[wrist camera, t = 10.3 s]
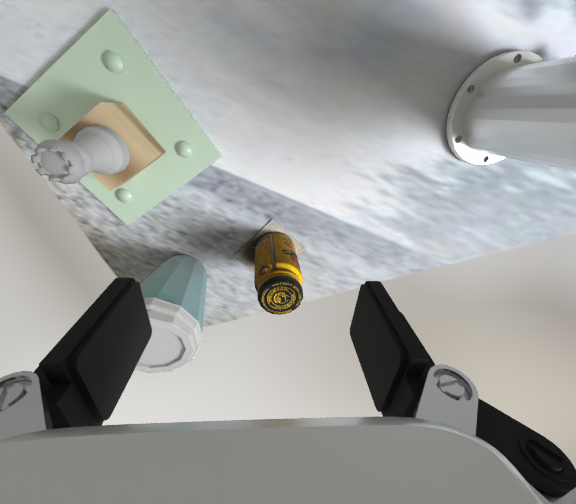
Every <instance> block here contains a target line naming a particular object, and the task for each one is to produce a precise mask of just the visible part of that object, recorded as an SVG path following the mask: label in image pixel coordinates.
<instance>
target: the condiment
mask: <svg viewBox="0 0 576 504" xmlns="http://www.w3.org/2000/svg"><path fill="white" fill-rule="evenodd" d="M253 247H254V248H253ZM304 250H306V249H305V248H304V247H303V246H302V245H301V244H300V243H298V242H297V241H296V240H295V239H294V238H293V237H292V236H291V235H290V234H289V233H288V232H286V231H285V230H284V229H283V228H282V227H281V226H280V225H279V224H278V223H276V222H275V221H274V220H273V219H272V220H271V221H270V222H269V223H268V224H267V225H266V226H265V227H264V228H263V229H262V230H260V231H259V232H258V233H257V234H256V235H255V236H254V237H253V238H252V239H251V240H250V241H249V242H248V243H247V244H246V245H245V246H244V247H243V248H242V249H241V250H240V251H239V252H238V253H237V254H236V255H235V256H234V257H235V258H237V259H238V260H240V261H241V262H242V263H244V264H245V265H246V266H248V267H249V268H250V269H252V270H253V271H255V281H254V283H255V288H256V291H257V292H258V301H259V304H260V305H261V307H262V308H263V309H265V310H266V311H267V312H270V313H272V314H286V313H289V312H291V311H293V310H294V309H296V308H297V307H298V306H299V305H300V303H301V301H302V299H303V291H302V274H301V271H300V267H299V263H298V259H297V256H298V255H299V254H300V253H302V252H303V251H304Z"/></svg>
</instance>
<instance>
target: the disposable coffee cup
mask: <svg viewBox="0 0 576 504" xmlns="http://www.w3.org/2000/svg"><path fill="white" fill-rule="evenodd" d="M206 281H207V277H206V273H205V268H204V266H203V265H202V264H201V263H200V262H199V261H198V260H197V259H195V258H193V257H190V256H187V255H178V256H173V257H171V258H169V259H168V260H166V261H165V262H163V263H162V264H161V265H160V266H159V267H158V268H157V269H156V270H155V271H154V272H153V273H151V274H150V275H149V276H148V277H147V278H146V279H145V280H144V281H143V282H142V283H141V284H140V287H141V291H142V294H143V298H144V302H145V305H146V309H147V313H148V316H149V320H150V324H151V327H152V335H151V338H150V340H149V342H148V344H147V346H146V348H145V350H144V352H143V354H142V356H141V358H140V360H139V361H138V363H137V365H136V367H135V369H134V370H137V371H142V372H147V373H154V372H165V371H172V370H174V369H176V368H178V367H180V366H182V365H184V364H186V363H188V362H190V361H192V360H193V358H194V356H195V355H196V353H197V351H198V349H199V347H200V345H201V343H202V341H203V336H202V328H203V316H204V305H205V293H206Z"/></svg>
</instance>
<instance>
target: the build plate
mask: <svg viewBox="0 0 576 504" xmlns="http://www.w3.org/2000/svg"><path fill="white" fill-rule="evenodd" d="M100 102H108V103H125V104H126V105H127V107H128V108H129V109H130V110H131V111H132V112H133V114H134V115H135V116H136V117H137V118H138V120H139V121H140V122H141V123H142V124H143V125H144V127H145V128H146V129H147V130H148V131H149V132H150V134H151V135H152V136H153V137H154V138H155V139H156V141H157V142H158V143H159V144H160V145H161V146H162V148H163V149H164V150H165V151H166V153H164V154H163V155H162V156H160V157H159V158H158V159H157V160H155V161H154V162H153V163H152V164H150V165H149V166H148V167H147V168H145V169H144V170H143V171H141V172H140V173H139V174H138V175H136V176H135V177H134V178H133V179H131V180H130V181H128V182H126V183H125V184H123V185H121V186H119V187H117V188H116V189H114V190H112V191H109V190H108V189H107V188H106V187H105V186H104V185H103V184H101V183H100V182H99V181H98V180H97V179H96V178H95V177H94V176H93V175H92V174H91V173H89V174H87V175H85V176H83V177H82V179H81V180H80V181H79V182H80V183H81V184H82V185H83V186H85V187H86V188H87V189H88V190H89V191H90V192H91V193H92V194H93V195H94V196H95V197H97V198H98V199H99V200H100V201H101V202H102V203H103V204H104V205H105V206H106V207H107V208H109V209H110V210H111V211H112V212H113V213H114V214H115V215H116V216H117V217H118V218H119V219H121V220H122V221H123V222H124V223H125V224H126V225H127V226H129V225H130V224H131V223H133V222H134V221H135V220H137V219H138V218H139V217H141V216H142V215H143V214H145V213H146V212H147V211H149V210H150V209H151V208H153V207H154V206H156V205H157V204H158V203H160V202H161V201H162V200H164V199H165V198H166V197H168V196H169V195H170V194H172V193H173V192H174V191H176V190H177V189H178V188H180V187H181V186H182V185H184V184H185V183H187V182H188V181H189V180H191V179H192V178H193V177H195V176H196V175H197V174H199V173H200V172H201V171H203V170H204V169H205V168H207V167H208V166H209V165H211V164H212V163H213V162H215V161H216V160H217V159H219V158H220V157H221V156H222V155H221V154H220V153H219V151H218V150H217V149H216V147H215V146H214V145H213V143H212V142H211V141H210V139H209V138H208V137H207V135H206V134H205V133H204V131H203V130H202V129H201V127H200V126H199V125H198V123H197V122H196V121H195V119H194V118H193V117H192V115H191V114H190V113H189V111H188V110H187V109H186V107H185V106H184V105H183V103H182V102H181V101H180V99H179V98H178V97H177V95H176V94H175V92H174V91H173V90H172V88H171V87H170V86H169V84H168V83H167V82H166V80H165V79H164V78H163V76H162V75H161V74H160V72H159V71H158V70H157V68H156V67H155V66H154V64H153V63H152V62H151V60H150V59H149V58H148V56H147V55H146V54H145V52H144V51H143V50H142V48H141V47H140V46H139V44H138V43H137V42H136V40H135V39H134V38H133V36H132V35H131V34H130V32H129V31H128V30H127V28H126V27H125V26H124V24H123V23H122V22H121V20H120V19H119V17H118V16H117V15H116V13H115V12H114V11H113V10H111V9H109V10H108V11H107V12H106V13H105V14H104V15H103V16H102V17H101V18H100V19H99V20H98V21H97V22H96V23H95V24H94V25H93V26H92V27H91V28H90V29H89V30H88V31H87V32H86V33H85V34H84V35H83V36H82V37H81V38H80V39H79V40H78V41H77V42H76V43H75V44H74V45H73V46H72V47H71V48H70V49H68V50H67V51H66V52H65V53H64V54H63V55H62V56H61V57H60V58H59V59H58V60H57V61H56V62H55V63H54V64H53V65H52V66H51V67H50V68H49V69H48V70H47V71H46V72H45V73H44V74H43V75H42V76H41V77H40V78H39V79H38V80H37V81H36V82H35V83H34V84H33V85H32V86H31V87H30V88H29V89H28V90H27V91H26V92H25V93H24V94H23V95H22V96H21V97H20V98H19V99H18V100H17V101H16V102H15V103H14V104H13V105H12V106H10V107H9V108H8V109H7V110H6V111H5V112H4V113H5V114H6V115H7V116H8V117H9V118H10V119H11V120H12V121H13V122H15V123H16V124H17V125H18V126H19V127H20V128H21V129H22V130H23V131H24V132H25V133H27V134H28V135H29V136H30V137H31V138H32V139H33V140H34V141H35V142H36V143H37V144H39V143H41V142H42V141H44V140H50V139H55V140H58V139H60V138H61V137H62V136H63V135H64V134H65V133H66V132H67V131H68V130H70V129H71V128H72V127H73V126H74V125H75V124H76V123H77V122H78V121H80V120H81V119H82V118H83V117H84V116H85V115H86V114H87V113H89V112H90V111H91V110H92V109H93V108H94V107H95V106H96V105H97V104H99V103H100Z"/></svg>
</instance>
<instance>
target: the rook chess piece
mask: <svg viewBox="0 0 576 504" xmlns="http://www.w3.org/2000/svg"><path fill="white" fill-rule="evenodd" d="M34 151H35V155H31V161H32V163H38V165H39V167H40V168H39V169H35V170H36V171H37V172H38V173H39V174H40V175H41V176H42V175H45V174H46V175H47V176H48V177H49V180H50V181H53V182H60V183H64V184H74V183H76V182H78V181H80V180H81V179H82V177H83V176H85V175H87V174H89V173H90V171H92V172H95V173H98V174H102V175H110V174H115V173H119V172H121V171H123V170H125V168H126V167H127V165H128V164H129V158H130V153H129V150H128V147H127V144H126V143H125V141H124V140H123V139H122V137H121V136H120V135H119V134H117V133H116V132H115V131H113V130H112V129H110V128H107V127H104V126H90V127H86V128H84V129H83V130H81V131H79V132H78V133H77V135H76V136H75V138H74V141H73V142H72V141H69V140H67V141H59V140H55V139H50V140H44V141H42V142H41V143H39V144H38V146H37V148H36V149H35V150H34Z"/></svg>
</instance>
